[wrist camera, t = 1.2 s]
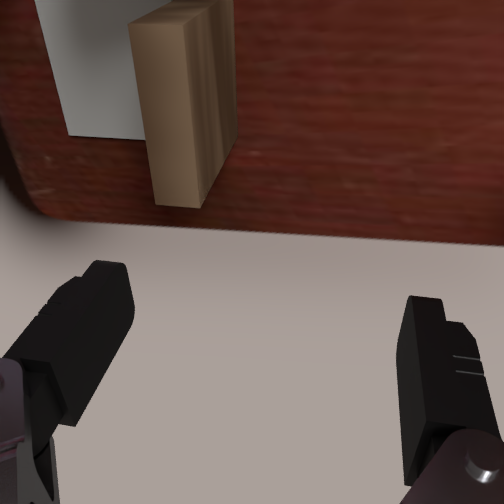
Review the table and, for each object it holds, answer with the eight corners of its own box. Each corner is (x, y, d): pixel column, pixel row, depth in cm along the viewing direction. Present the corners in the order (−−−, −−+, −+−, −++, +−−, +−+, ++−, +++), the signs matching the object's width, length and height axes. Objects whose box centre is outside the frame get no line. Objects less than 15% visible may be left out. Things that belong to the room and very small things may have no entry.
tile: (232, -9, 28) (182, 25, 20) (237, 136, 33) (200, 208, 25) (189, -10, 28) (123, 23, 21) (201, 133, 34) (153, 204, 26)
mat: (170, -19, 28) (168, -18, 28) (187, 139, 34) (185, 142, 34) (33, -20, 30) (29, -19, 29) (71, 133, 36) (69, 135, 35)
